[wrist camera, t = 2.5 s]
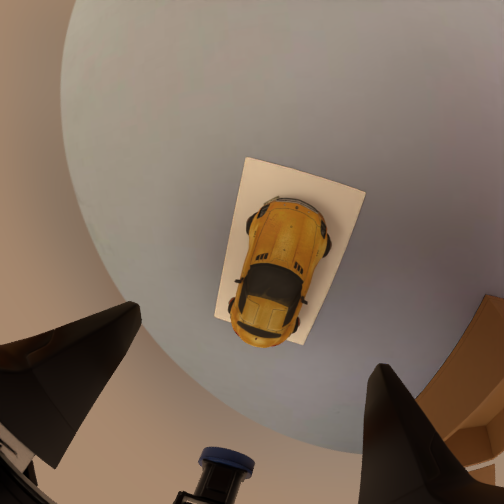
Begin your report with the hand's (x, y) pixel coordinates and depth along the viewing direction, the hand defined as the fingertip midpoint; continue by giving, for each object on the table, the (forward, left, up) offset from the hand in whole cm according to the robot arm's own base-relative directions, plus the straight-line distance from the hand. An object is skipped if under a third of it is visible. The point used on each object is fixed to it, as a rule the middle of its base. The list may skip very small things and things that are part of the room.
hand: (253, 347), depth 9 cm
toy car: (0, 0, -6) cm, 6 cm away
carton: (-7, -21, -6) cm, 23 cm away
